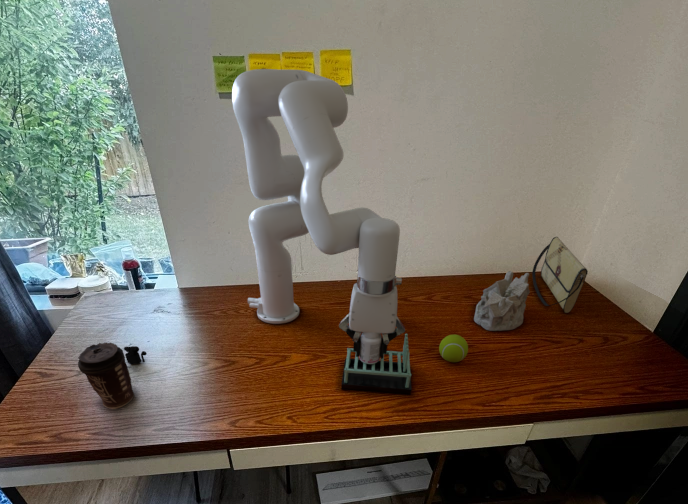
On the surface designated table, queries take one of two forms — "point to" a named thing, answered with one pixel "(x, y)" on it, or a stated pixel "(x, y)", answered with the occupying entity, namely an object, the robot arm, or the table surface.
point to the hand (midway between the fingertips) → (369, 353)
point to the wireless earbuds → (134, 355)
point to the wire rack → (379, 373)
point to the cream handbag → (561, 274)
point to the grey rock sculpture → (503, 304)
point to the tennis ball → (453, 348)
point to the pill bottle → (370, 347)
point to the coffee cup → (107, 373)
